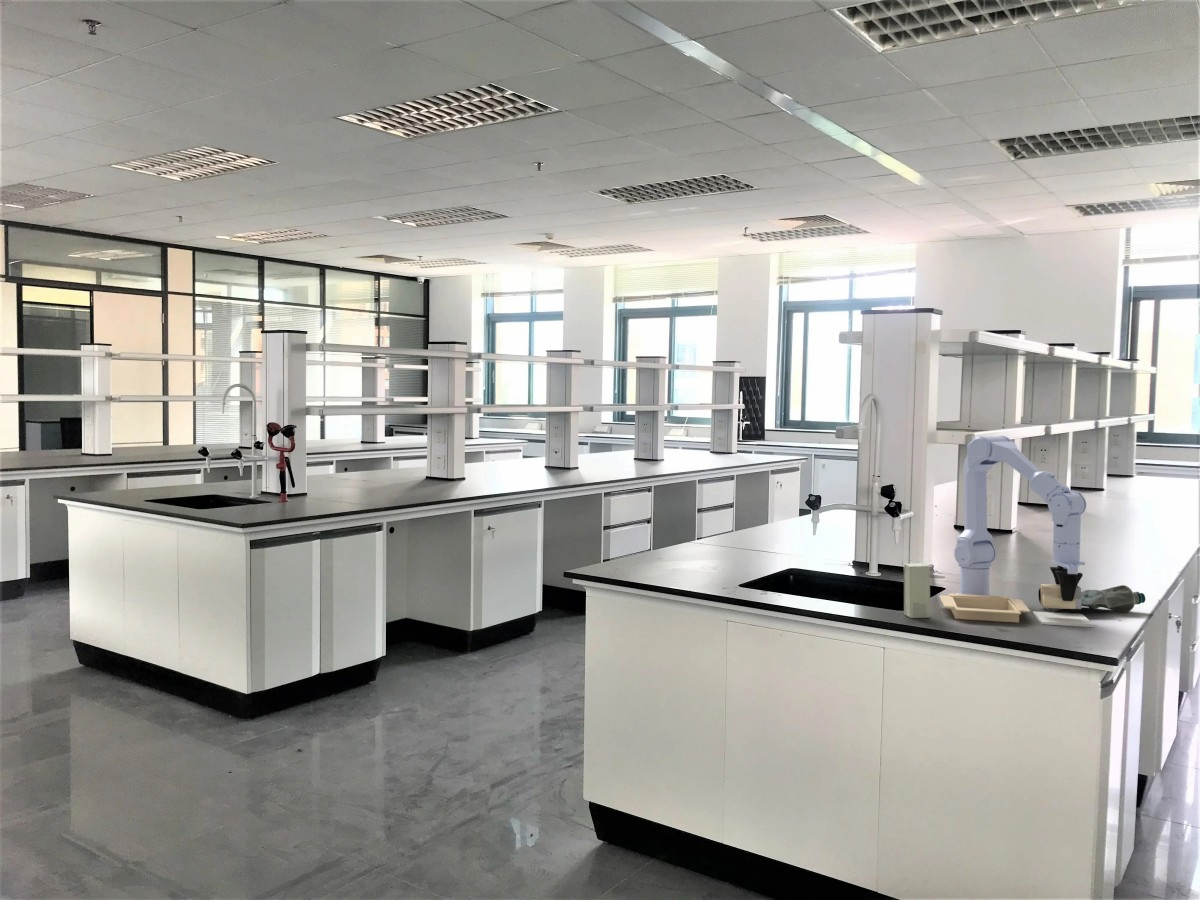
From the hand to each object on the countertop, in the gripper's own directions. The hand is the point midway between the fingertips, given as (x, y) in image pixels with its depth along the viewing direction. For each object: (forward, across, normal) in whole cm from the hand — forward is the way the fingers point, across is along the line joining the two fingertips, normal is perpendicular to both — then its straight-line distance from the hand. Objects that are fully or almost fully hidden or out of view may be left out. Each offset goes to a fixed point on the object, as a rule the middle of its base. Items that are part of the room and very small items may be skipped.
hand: (1065, 598), depth 213 cm
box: (+5, -5, +34) cm, 35 cm away
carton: (+5, +2, +18) cm, 19 cm away
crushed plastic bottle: (+6, +12, -8) cm, 16 cm away
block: (+2, 0, +1) cm, 2 cm away
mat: (+5, 0, 0) cm, 5 cm away
